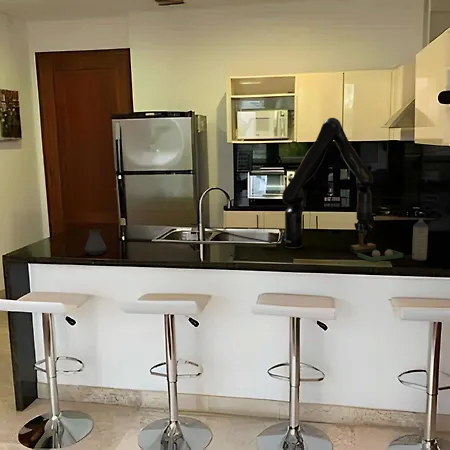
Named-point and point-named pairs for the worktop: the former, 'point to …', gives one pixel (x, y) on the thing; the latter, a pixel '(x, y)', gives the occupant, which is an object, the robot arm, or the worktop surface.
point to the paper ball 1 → (375, 253)
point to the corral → (395, 255)
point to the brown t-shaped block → (362, 246)
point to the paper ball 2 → (388, 252)
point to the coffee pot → (95, 242)
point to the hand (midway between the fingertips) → (363, 243)
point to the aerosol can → (420, 241)
